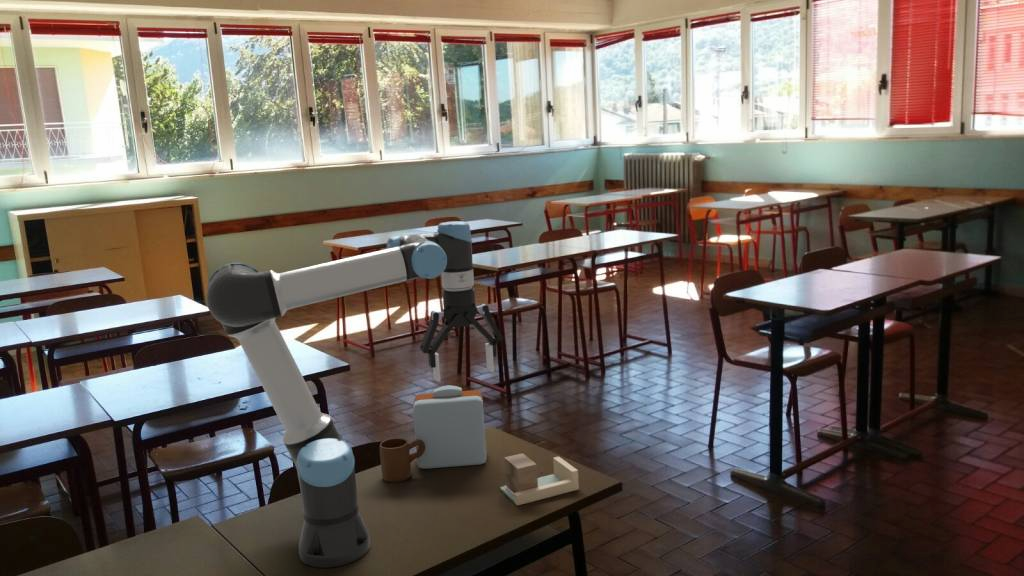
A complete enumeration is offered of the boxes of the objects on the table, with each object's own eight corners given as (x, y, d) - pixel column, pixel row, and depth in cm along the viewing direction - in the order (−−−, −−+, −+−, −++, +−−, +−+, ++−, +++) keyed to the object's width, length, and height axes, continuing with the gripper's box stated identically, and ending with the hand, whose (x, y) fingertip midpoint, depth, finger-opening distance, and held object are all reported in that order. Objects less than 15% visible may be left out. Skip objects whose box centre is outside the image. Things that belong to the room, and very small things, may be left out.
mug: (423, 465, 219) (420, 432, 217) (431, 475, 212) (428, 441, 210) (379, 474, 215) (376, 441, 213) (386, 485, 208) (382, 450, 206)
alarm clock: (486, 452, 225) (481, 381, 222) (487, 464, 217) (482, 391, 213) (419, 457, 225) (413, 386, 221) (417, 470, 216) (411, 396, 212)
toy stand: (517, 505, 192) (516, 485, 191) (500, 489, 201) (499, 470, 200) (578, 489, 199) (577, 470, 198) (559, 474, 208) (558, 456, 207)
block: (506, 485, 202) (504, 457, 200) (524, 481, 204) (522, 453, 202) (519, 498, 194) (517, 468, 193) (538, 493, 196) (536, 464, 195)
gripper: (411, 297, 182) (419, 388, 186) (513, 283, 191) (518, 370, 195) (402, 292, 188) (409, 380, 192) (500, 279, 198) (505, 363, 202)
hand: (464, 375), depth 194 cm, fingers open, 13 cm apart
